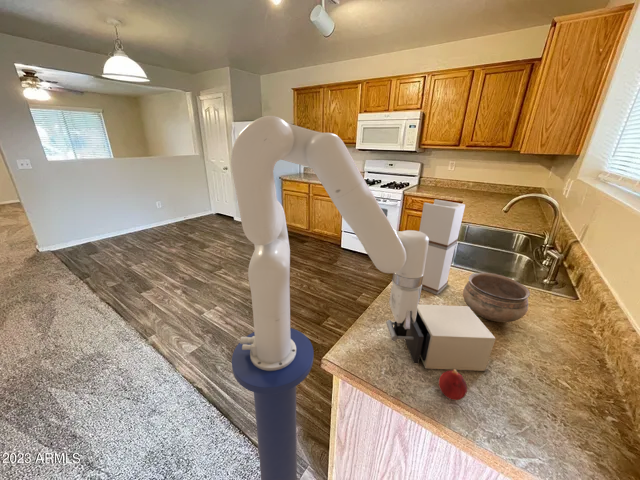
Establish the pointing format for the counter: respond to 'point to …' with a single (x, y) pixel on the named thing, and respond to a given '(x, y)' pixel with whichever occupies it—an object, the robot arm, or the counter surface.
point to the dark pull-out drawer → (413, 338)
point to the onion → (452, 385)
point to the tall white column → (440, 241)
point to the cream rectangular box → (455, 338)
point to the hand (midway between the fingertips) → (399, 334)
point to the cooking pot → (496, 297)
